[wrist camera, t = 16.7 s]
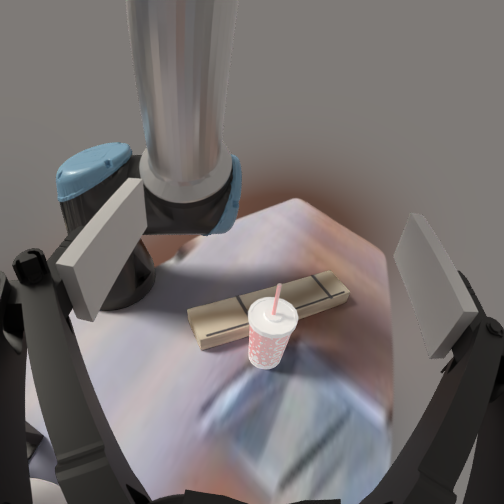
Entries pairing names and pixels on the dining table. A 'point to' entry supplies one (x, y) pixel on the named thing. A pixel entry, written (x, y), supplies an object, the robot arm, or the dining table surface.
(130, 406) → the dining table surface
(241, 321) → the maple strip
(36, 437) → the phone stand
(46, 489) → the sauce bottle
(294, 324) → the beverage cup
